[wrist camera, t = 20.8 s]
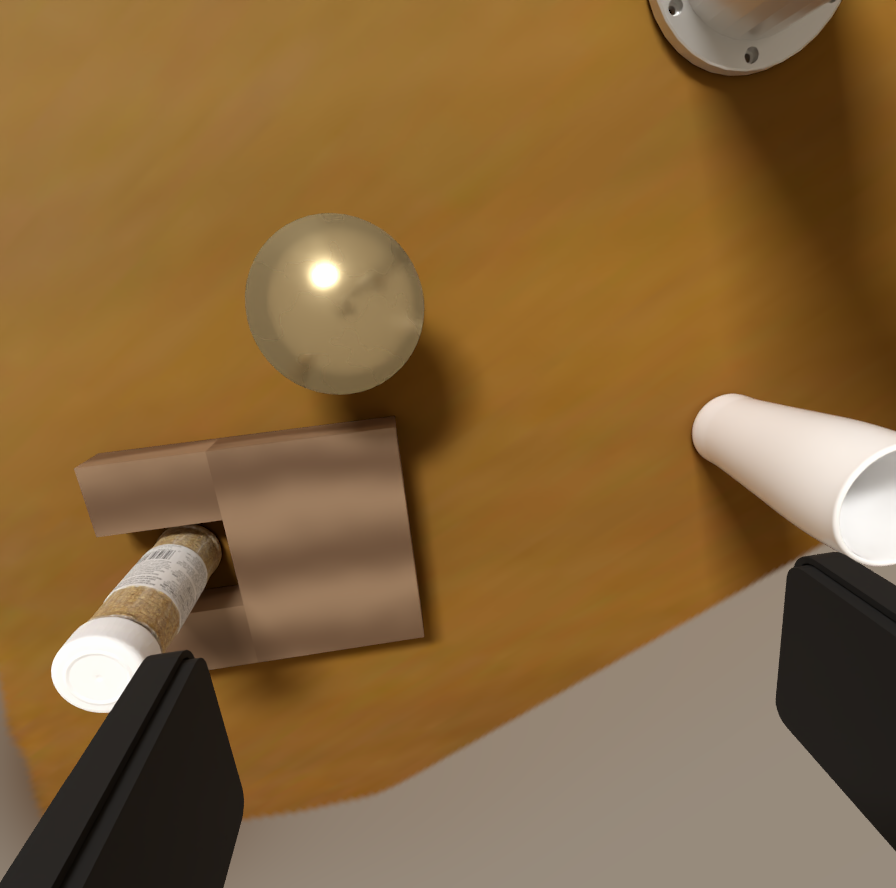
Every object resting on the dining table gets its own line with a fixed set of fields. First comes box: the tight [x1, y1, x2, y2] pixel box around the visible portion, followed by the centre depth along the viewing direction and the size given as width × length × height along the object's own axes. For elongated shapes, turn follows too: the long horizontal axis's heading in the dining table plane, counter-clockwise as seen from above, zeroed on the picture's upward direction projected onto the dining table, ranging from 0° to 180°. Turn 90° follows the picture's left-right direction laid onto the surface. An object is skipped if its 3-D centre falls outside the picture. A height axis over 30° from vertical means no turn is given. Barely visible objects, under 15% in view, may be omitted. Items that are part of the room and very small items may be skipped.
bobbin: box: [245, 213, 424, 395], centre depth 32 cm, size 9×9×8 cm
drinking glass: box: [692, 394, 896, 566], centre depth 34 cm, size 7×7×15 cm
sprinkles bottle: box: [51, 524, 222, 713], centre depth 33 cm, size 5×5×13 cm
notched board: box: [74, 416, 424, 670], centre depth 39 cm, size 16×20×3 cm
